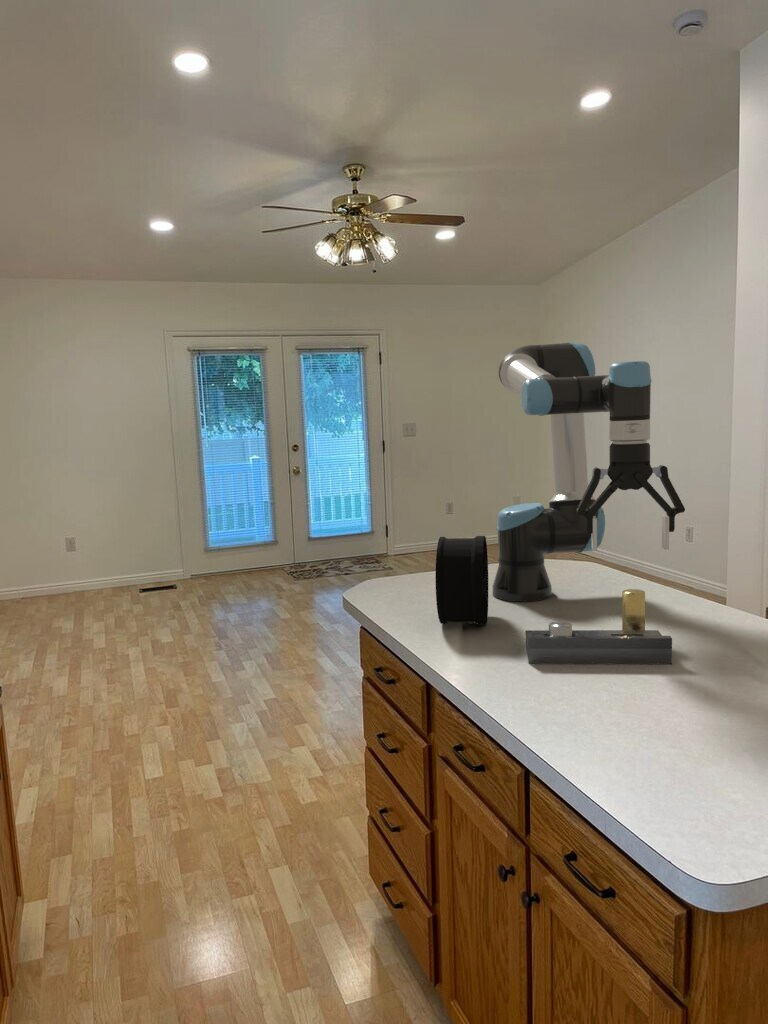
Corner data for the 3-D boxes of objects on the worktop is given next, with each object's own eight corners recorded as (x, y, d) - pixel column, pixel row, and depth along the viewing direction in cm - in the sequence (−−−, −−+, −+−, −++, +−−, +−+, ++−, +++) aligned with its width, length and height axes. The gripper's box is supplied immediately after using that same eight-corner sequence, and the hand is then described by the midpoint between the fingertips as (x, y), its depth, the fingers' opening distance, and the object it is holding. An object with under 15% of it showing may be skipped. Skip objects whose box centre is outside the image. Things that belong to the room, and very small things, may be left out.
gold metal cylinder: (620, 635, 147) (620, 589, 146) (642, 635, 146) (642, 589, 145) (624, 642, 143) (624, 594, 141) (647, 642, 142) (647, 594, 141)
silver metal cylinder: (548, 650, 141) (547, 621, 140) (571, 650, 140) (570, 621, 139) (550, 657, 136) (549, 628, 135) (573, 657, 136) (573, 627, 135)
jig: (525, 644, 144) (525, 621, 144) (658, 644, 140) (658, 620, 140) (528, 663, 134) (528, 638, 133) (671, 664, 130) (672, 638, 129)
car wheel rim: (484, 636, 151) (481, 545, 148) (437, 635, 153) (433, 545, 150) (489, 610, 170) (486, 528, 167) (447, 609, 172) (444, 529, 169)
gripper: (565, 445, 136) (566, 553, 139) (702, 440, 131) (700, 551, 134) (562, 443, 143) (563, 545, 146) (692, 438, 139) (690, 543, 142)
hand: (629, 548), depth 140 cm, fingers open, 13 cm apart
